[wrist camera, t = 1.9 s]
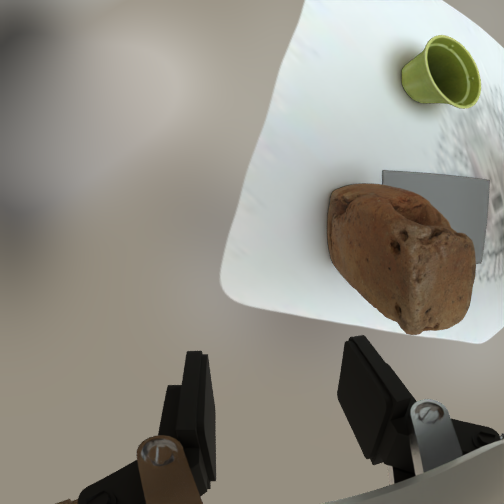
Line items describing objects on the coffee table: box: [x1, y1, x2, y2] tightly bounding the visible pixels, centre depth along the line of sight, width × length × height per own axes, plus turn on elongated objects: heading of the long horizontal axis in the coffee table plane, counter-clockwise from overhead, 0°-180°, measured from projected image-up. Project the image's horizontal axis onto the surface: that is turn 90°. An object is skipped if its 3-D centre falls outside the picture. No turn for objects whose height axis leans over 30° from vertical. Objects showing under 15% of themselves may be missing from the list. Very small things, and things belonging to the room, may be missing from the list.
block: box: [327, 184, 476, 335], centre depth 29 cm, size 11×8×20 cm
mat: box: [382, 170, 490, 264], centre depth 39 cm, size 22×14×1 cm, turn 92°
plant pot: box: [402, 35, 481, 109], centre depth 30 cm, size 9×9×9 cm
